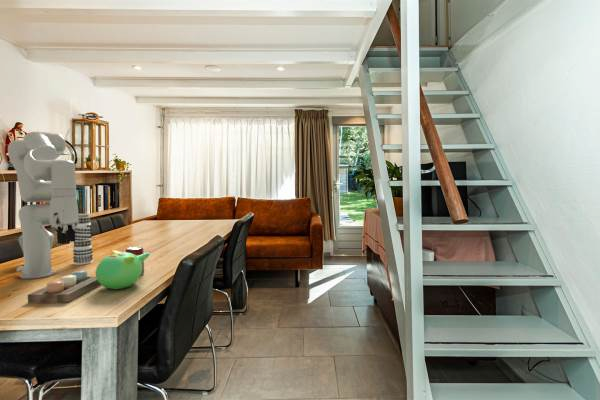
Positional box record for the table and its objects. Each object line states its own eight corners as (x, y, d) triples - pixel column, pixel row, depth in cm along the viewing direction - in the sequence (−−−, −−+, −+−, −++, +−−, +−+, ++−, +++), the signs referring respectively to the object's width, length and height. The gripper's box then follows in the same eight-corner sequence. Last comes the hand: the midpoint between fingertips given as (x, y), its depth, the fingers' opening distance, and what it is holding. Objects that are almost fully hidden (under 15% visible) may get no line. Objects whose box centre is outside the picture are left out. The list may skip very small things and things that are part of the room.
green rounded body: (110, 281, 146) (109, 246, 145) (151, 280, 148) (150, 245, 147) (87, 295, 128) (86, 256, 127) (135, 294, 130) (133, 255, 129)
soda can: (137, 277, 152) (136, 250, 151) (122, 276, 153) (121, 249, 152) (147, 272, 159) (146, 246, 158) (133, 272, 160) (132, 246, 159)
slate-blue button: (69, 283, 136) (69, 273, 136) (77, 280, 141) (77, 270, 141) (82, 283, 136) (82, 273, 136) (90, 279, 141) (89, 270, 141)
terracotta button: (43, 295, 122) (43, 284, 122) (53, 291, 127) (53, 280, 127) (58, 295, 122) (57, 284, 122) (67, 291, 127) (67, 280, 127)
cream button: (57, 289, 129) (57, 278, 129) (66, 285, 134) (65, 275, 134) (71, 289, 129) (70, 278, 129) (79, 285, 134) (79, 275, 134)
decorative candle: (88, 259, 185) (86, 212, 183) (97, 262, 179) (95, 213, 178) (69, 263, 177) (67, 214, 176) (77, 265, 172) (75, 215, 170)
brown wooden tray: (28, 303, 121) (27, 294, 121) (69, 283, 143) (68, 276, 142) (68, 302, 121) (68, 294, 121) (103, 283, 143) (103, 276, 143)
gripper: (68, 192, 138) (70, 238, 139) (37, 194, 121) (40, 247, 122) (87, 192, 138) (89, 238, 139) (59, 194, 121) (61, 246, 122)
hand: (66, 241), depth 131 cm, fingers open, 4 cm apart
